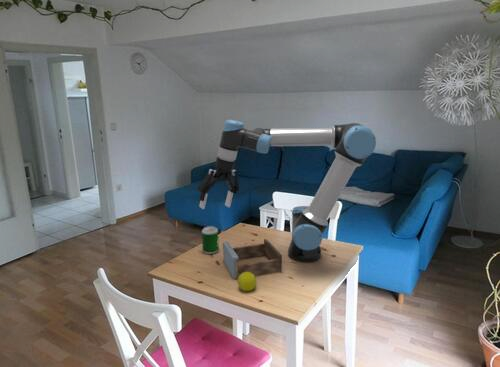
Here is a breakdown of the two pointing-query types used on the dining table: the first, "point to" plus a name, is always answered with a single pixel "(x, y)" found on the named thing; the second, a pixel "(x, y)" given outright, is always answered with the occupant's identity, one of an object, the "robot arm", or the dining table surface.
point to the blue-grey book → (230, 258)
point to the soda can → (210, 240)
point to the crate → (264, 266)
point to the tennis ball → (247, 281)
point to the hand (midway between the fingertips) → (214, 207)
